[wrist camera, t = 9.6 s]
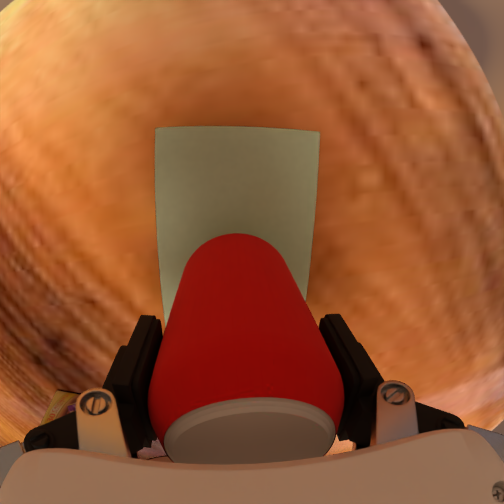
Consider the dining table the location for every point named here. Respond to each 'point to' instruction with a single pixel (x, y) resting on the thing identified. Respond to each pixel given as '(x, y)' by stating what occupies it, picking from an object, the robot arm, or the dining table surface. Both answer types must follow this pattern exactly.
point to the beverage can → (243, 363)
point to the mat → (234, 194)
